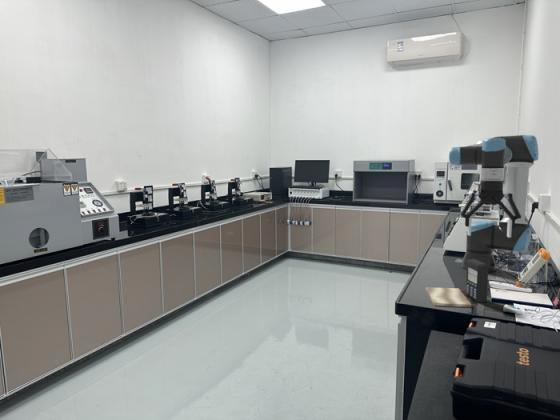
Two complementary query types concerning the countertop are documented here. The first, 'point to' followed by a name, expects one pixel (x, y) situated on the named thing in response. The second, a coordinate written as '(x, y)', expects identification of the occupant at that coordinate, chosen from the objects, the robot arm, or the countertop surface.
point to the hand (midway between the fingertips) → (488, 236)
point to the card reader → (477, 280)
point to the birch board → (447, 297)
